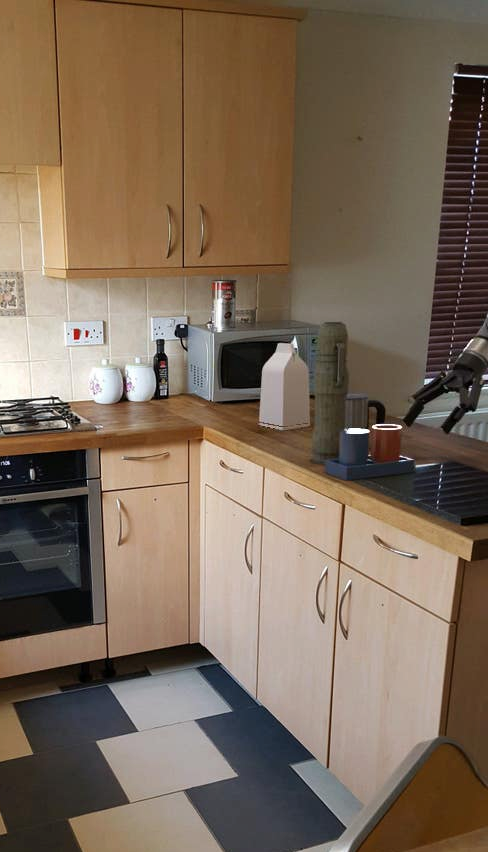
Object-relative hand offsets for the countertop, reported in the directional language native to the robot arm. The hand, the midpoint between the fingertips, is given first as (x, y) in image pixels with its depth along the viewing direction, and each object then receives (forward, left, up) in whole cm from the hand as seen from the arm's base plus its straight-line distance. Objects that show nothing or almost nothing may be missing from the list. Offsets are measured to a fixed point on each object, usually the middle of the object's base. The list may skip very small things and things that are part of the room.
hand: (424, 427), depth 218 cm
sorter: (0, +16, -10) cm, 19 cm away
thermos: (+17, +17, -10) cm, 26 cm away
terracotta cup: (0, +11, -9) cm, 14 cm away
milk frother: (+31, +1, -10) cm, 32 cm away
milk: (+72, 0, -10) cm, 72 cm away
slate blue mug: (0, +21, -9) cm, 22 cm away
